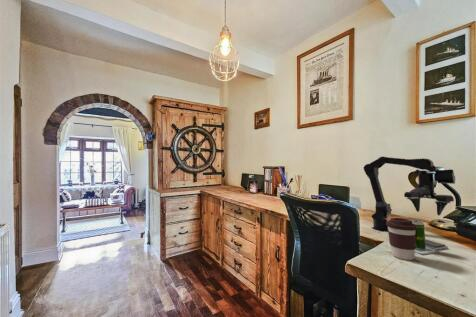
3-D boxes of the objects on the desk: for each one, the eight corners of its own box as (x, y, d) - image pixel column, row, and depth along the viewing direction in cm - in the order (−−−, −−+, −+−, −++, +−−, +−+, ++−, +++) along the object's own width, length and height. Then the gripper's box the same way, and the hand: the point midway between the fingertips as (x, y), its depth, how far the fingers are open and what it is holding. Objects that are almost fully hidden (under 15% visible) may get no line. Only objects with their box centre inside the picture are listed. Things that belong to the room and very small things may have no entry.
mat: (397, 246, 94) (397, 245, 94) (413, 244, 96) (413, 243, 96) (421, 255, 84) (421, 253, 84) (439, 252, 86) (439, 251, 86)
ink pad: (411, 242, 98) (411, 239, 98) (422, 241, 100) (422, 237, 100) (435, 250, 89) (435, 246, 89) (447, 248, 90) (447, 245, 91)
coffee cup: (406, 263, 77) (404, 223, 77) (381, 253, 86) (380, 217, 87) (425, 260, 79) (423, 221, 80) (399, 250, 89) (397, 216, 90)
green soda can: (417, 245, 93) (415, 219, 94) (429, 250, 88) (427, 222, 88) (406, 246, 93) (405, 219, 93) (418, 250, 87) (416, 222, 88)
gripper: (395, 182, 111) (397, 210, 110) (436, 184, 93) (438, 218, 92) (411, 181, 114) (412, 209, 113) (453, 183, 96) (455, 217, 95)
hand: (427, 213), depth 103 cm, fingers open, 9 cm apart
